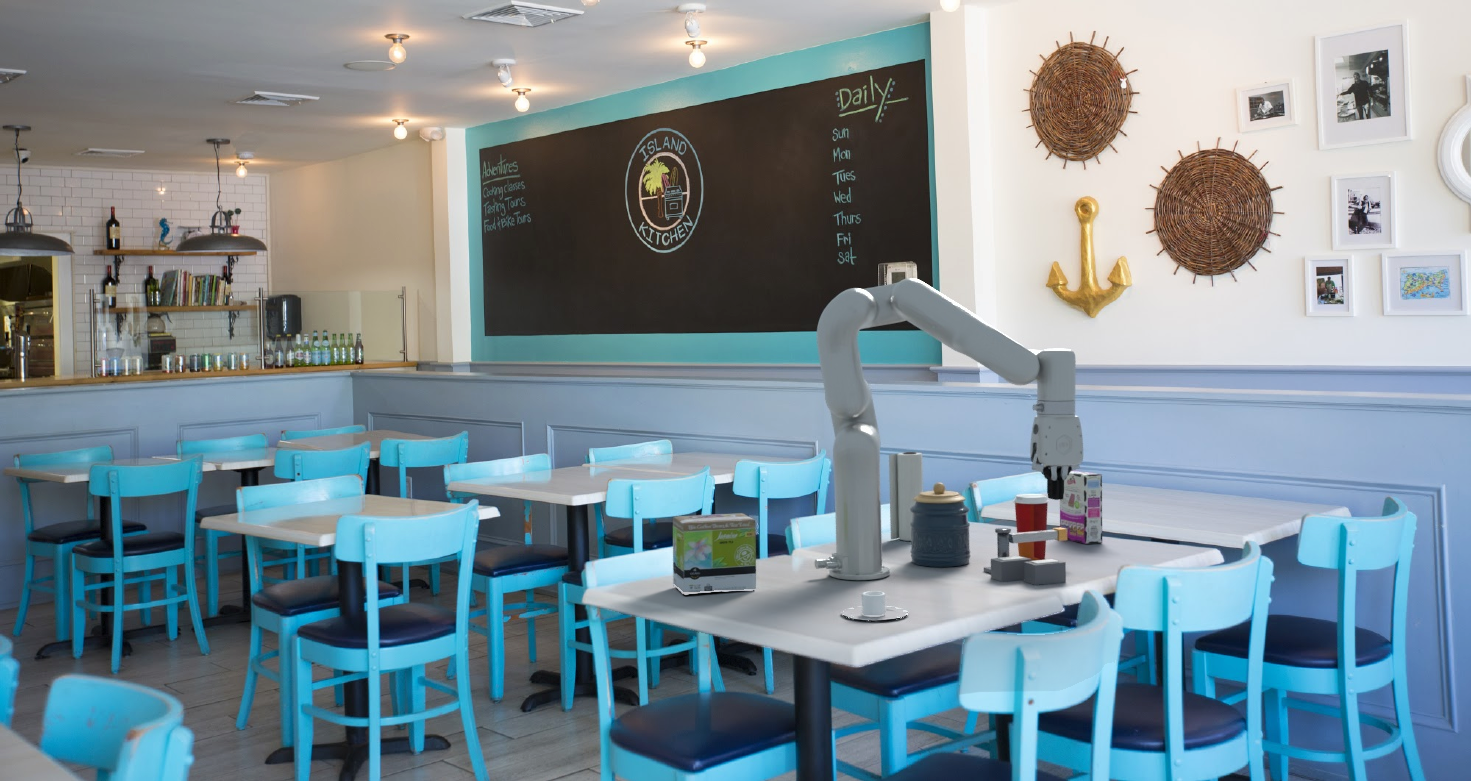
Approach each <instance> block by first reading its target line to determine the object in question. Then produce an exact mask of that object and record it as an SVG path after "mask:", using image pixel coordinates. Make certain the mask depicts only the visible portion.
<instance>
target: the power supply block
mask: <svg viewBox="0 0 1471 781" xmlns="http://www.w3.org/2000/svg"><path fill="white" fill-rule="evenodd" d="M1066 563H1067V562H1066V561H1063V560H1059V559H1055V558H1051V559H1050V558H1047V559H1046V558H1045V559H1044V560H1036V561H1029V562H1024V579H1023V580H1024V581H1023V582H1024V583H1027V584H1029V585H1033V584H1034V585H1033V586H1040V585H1039V584H1044V585H1051V584H1060V583H1067V577H1066V576H1067V574H1066V573H1067V572H1066V571H1067V570H1066V569H1067V568H1066V565H1067V564H1066Z"/></svg>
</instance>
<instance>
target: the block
mask: <svg viewBox="0 0 1471 781" xmlns="http://www.w3.org/2000/svg"><path fill="white" fill-rule="evenodd" d="M1029 561H1031V559H1029V558H1026V557H1022V556H1019V555H1014V556H1013V555H1012V556H1009V557H1001V558H998V557H995V558H990V567H991V573H990V579H992V580H995V581H999V582H1001V583H1002V582H1003V583H1005V582H1011V581H1012V582H1013V581H1021V580H1022V581H1023V580H1024V562H1029Z"/></svg>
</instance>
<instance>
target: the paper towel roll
mask: <svg viewBox="0 0 1471 781" xmlns="http://www.w3.org/2000/svg"><path fill="white" fill-rule="evenodd" d="M888 469H889V470H888V475H889V476H888V477H889V480H888V482H889V518H890V519H889V521H890V522H889V523H890V540H896V539H899V540H900V541H907V542H908V541H909V542H911V526H910V523H911V522H912V512H911V511H910V508H911V507H913V506H914V505H915V503H916V501H914V498H915V497H916V496H918V495H919V494H920V493H921V492H924V486H923V485H924V482H923V480H924V477H923V476H924V475H923V472H924V471H923V453H922V452H914V451H912V452H911V451H908V452H905V451H904V452H899V453H892V454H888Z"/></svg>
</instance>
